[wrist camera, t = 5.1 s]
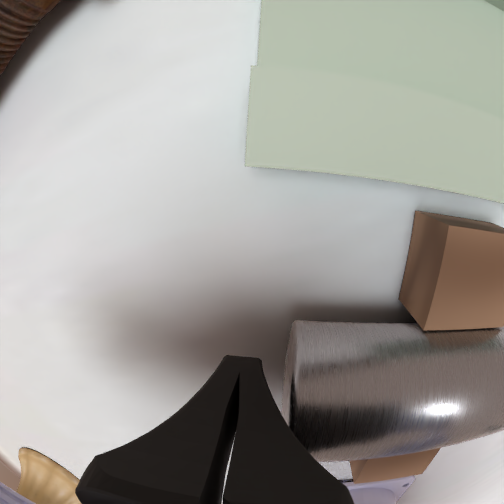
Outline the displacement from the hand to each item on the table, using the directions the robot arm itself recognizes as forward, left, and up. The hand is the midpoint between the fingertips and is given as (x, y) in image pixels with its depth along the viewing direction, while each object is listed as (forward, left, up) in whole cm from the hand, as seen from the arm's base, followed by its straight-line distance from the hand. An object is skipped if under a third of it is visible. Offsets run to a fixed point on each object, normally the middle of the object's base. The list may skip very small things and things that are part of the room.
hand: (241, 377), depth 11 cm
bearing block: (0, -8, -2) cm, 8 cm away
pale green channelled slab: (+13, -8, -2) cm, 15 cm away
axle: (0, -9, +1) cm, 9 cm away
